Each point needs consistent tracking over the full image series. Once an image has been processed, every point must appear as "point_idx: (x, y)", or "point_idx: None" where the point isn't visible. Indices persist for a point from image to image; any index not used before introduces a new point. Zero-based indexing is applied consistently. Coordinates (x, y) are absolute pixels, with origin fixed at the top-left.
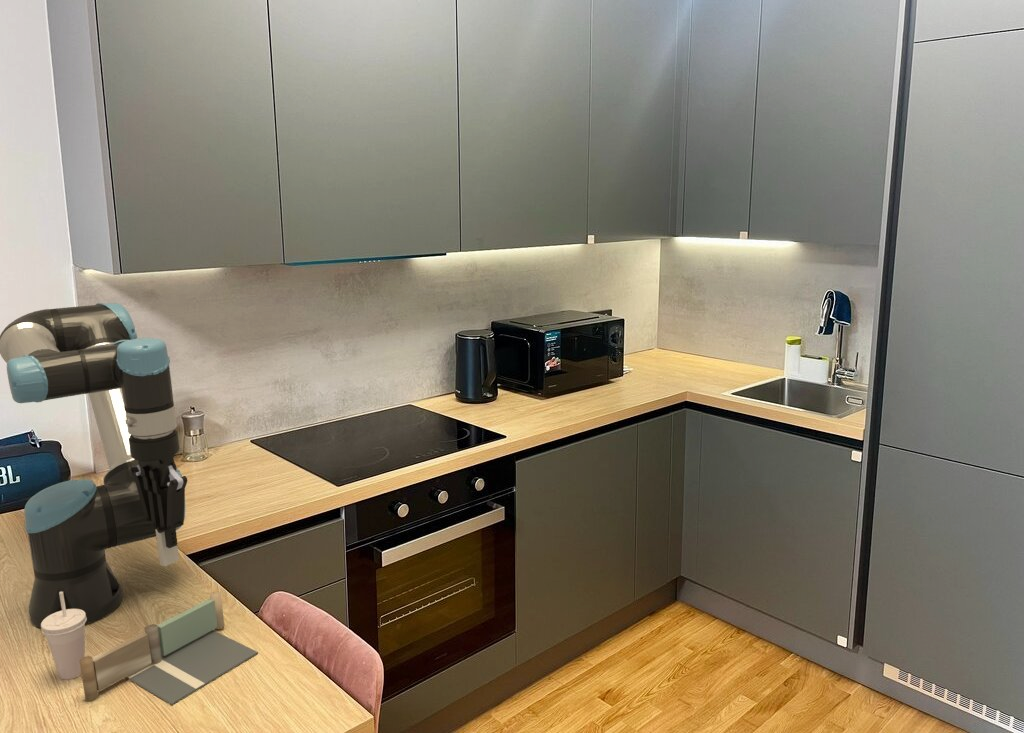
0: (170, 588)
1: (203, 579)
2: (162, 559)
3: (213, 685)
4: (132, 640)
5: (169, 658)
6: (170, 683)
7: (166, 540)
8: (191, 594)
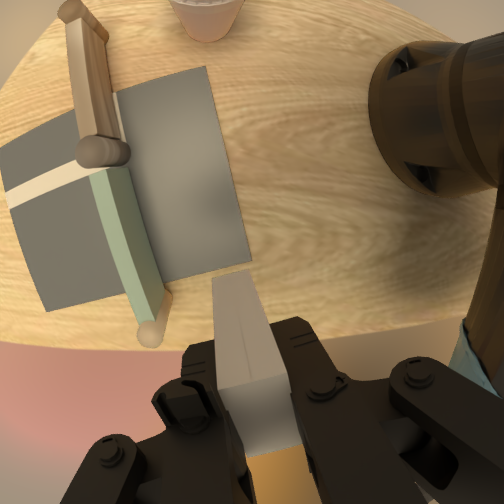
0: (385, 273)
1: (367, 330)
2: (227, 286)
3: (6, 220)
4: (79, 102)
5: None
6: (38, 160)
7: (210, 365)
8: (335, 298)
